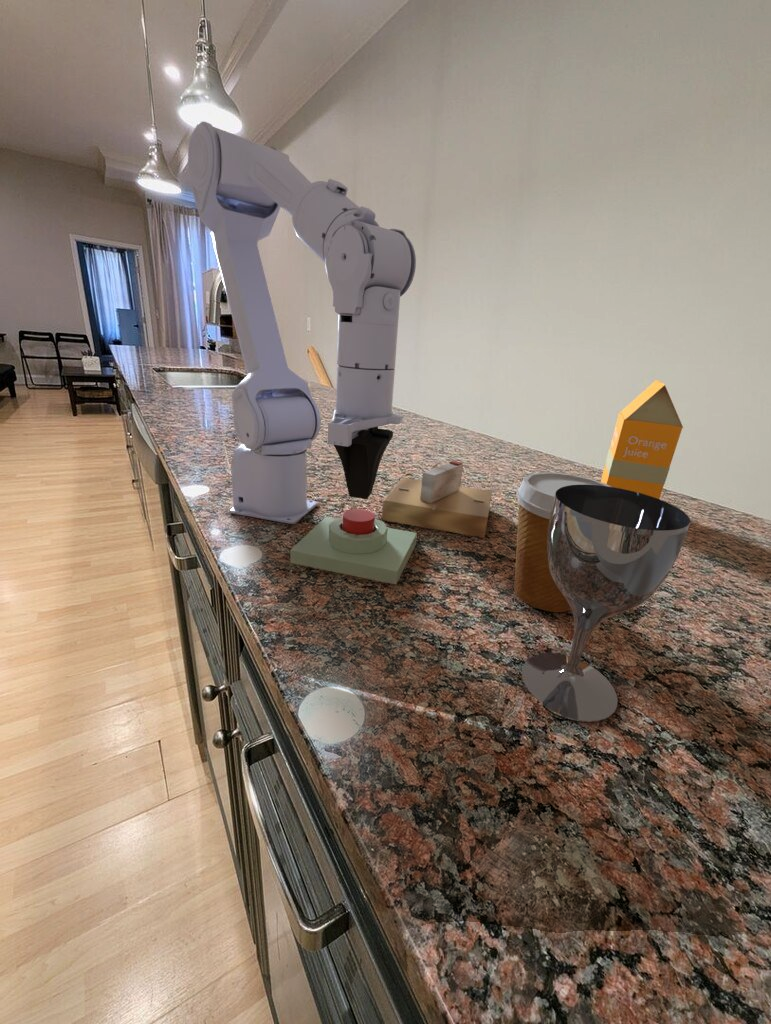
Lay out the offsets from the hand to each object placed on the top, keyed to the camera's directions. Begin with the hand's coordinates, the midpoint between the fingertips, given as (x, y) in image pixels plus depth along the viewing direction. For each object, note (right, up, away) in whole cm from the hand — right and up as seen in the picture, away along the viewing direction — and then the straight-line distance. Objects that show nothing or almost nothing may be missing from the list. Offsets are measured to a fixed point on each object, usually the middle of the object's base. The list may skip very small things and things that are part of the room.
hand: (359, 495), depth 49 cm
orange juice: (+42, -1, +24) cm, 48 cm away
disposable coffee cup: (+19, -11, -3) cm, 22 cm away
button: (0, -4, +2) cm, 4 cm away
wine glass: (+17, -15, -15) cm, 27 cm away
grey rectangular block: (+11, +1, +14) cm, 18 cm away
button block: (0, -7, +3) cm, 7 cm away
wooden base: (+11, -2, +16) cm, 19 cm away
